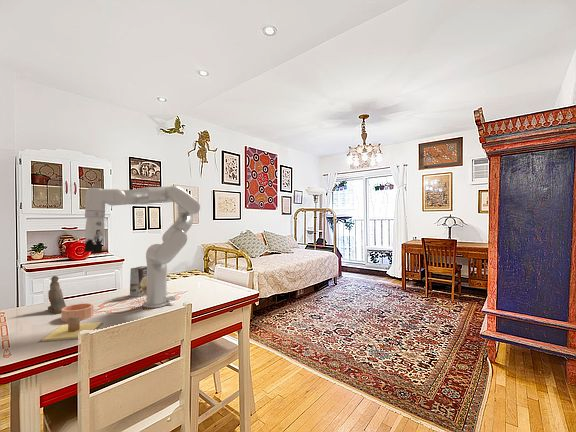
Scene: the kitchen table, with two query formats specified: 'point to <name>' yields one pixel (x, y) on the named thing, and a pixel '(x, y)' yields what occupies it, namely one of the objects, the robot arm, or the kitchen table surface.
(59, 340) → the mat
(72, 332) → the sheet
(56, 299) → the worn brown figurine
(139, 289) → the coffee box
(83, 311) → the bowl
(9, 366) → the kitchen table surface
